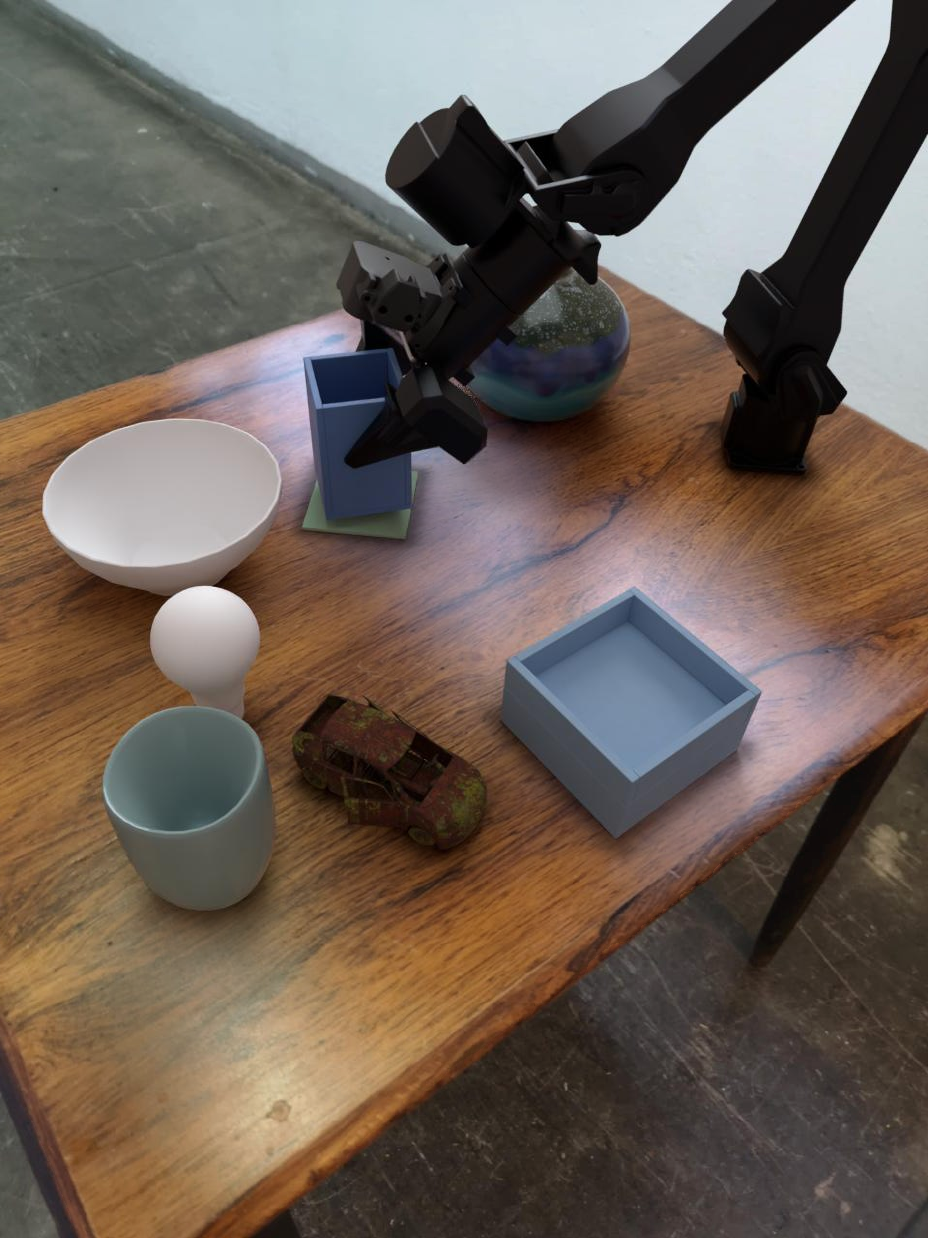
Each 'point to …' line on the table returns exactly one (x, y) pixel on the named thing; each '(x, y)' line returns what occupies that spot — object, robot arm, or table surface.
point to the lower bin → (626, 708)
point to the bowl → (164, 503)
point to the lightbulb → (207, 645)
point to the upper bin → (353, 432)
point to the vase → (557, 354)
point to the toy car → (389, 772)
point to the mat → (359, 519)
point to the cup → (192, 805)
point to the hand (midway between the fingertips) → (341, 435)
